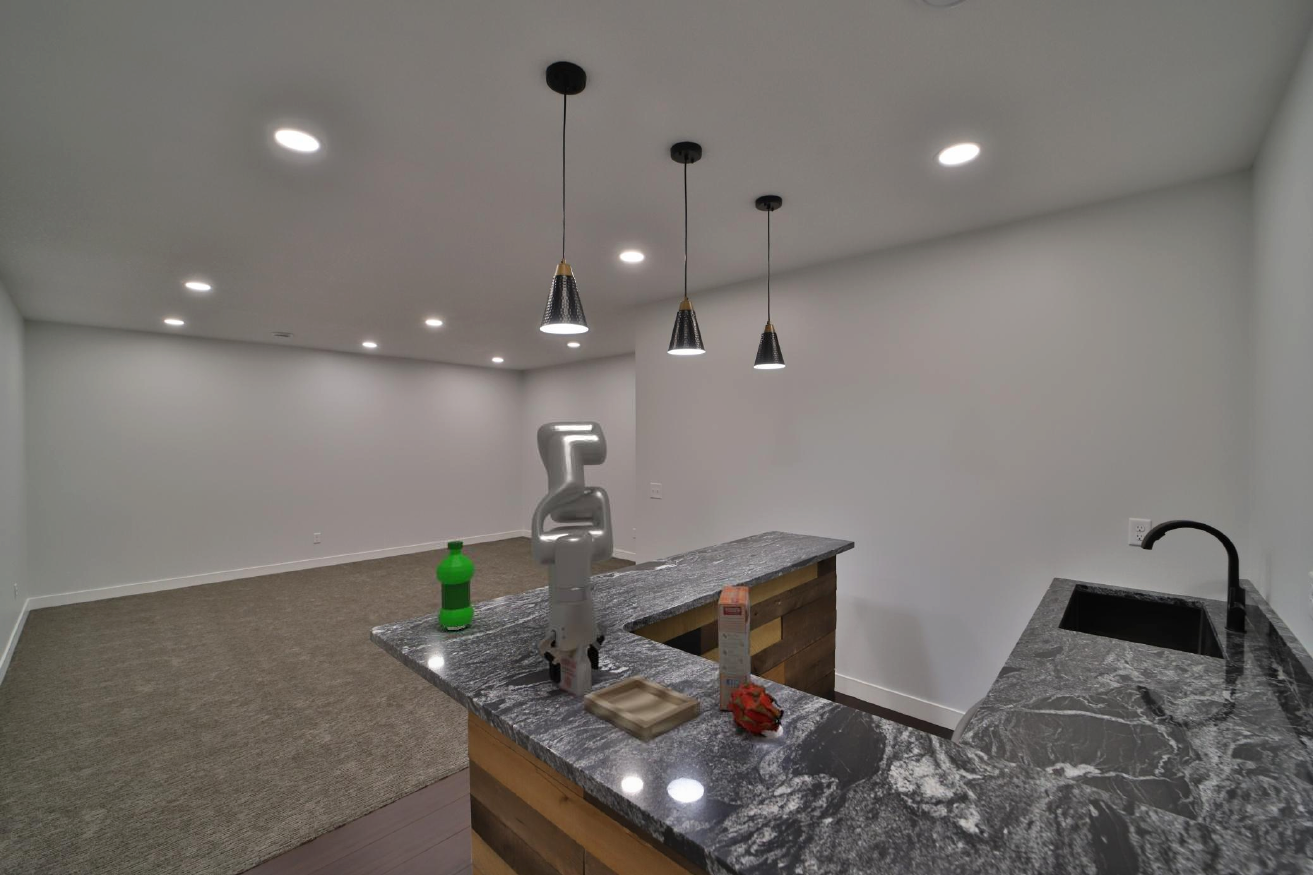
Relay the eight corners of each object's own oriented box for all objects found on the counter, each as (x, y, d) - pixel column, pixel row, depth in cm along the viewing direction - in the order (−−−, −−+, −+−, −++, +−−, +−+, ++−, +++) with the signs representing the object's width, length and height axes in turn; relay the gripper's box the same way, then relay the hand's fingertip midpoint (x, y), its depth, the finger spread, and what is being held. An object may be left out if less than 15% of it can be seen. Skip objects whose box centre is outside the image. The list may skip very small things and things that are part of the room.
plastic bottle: (465, 620, 170) (464, 538, 170) (480, 628, 162) (479, 542, 163) (432, 628, 163) (431, 542, 164) (446, 636, 155) (445, 546, 156)
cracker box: (750, 713, 106) (747, 603, 107) (718, 711, 107) (715, 602, 108) (752, 683, 120) (750, 585, 120) (724, 681, 121) (722, 584, 122)
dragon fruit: (735, 721, 106) (779, 760, 96) (708, 706, 102) (751, 744, 92) (757, 681, 108) (803, 714, 98) (731, 664, 104) (777, 697, 94)
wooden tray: (584, 708, 110) (584, 696, 110) (637, 687, 119) (637, 675, 119) (645, 742, 96) (645, 727, 96) (700, 714, 106) (699, 701, 106)
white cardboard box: (572, 682, 123) (571, 636, 123) (591, 691, 118) (590, 643, 118) (558, 687, 120) (557, 640, 120) (577, 696, 115) (576, 648, 115)
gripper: (595, 584, 128) (596, 659, 127) (528, 598, 116) (529, 681, 115) (615, 589, 122) (617, 668, 122) (547, 604, 111) (549, 692, 110)
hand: (574, 674), depth 119 cm, fingers open, 9 cm apart
